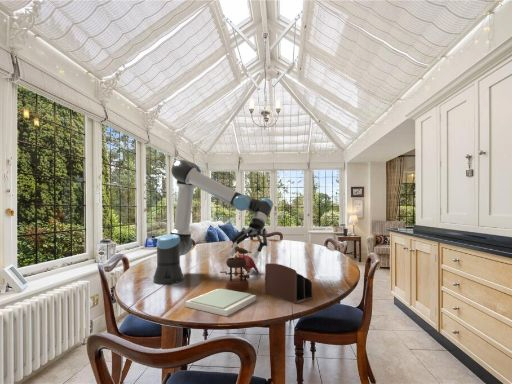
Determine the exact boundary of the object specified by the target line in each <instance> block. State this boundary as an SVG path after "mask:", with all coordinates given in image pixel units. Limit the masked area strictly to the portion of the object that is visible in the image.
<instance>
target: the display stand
mask: <svg viewBox="0 0 512 384" xmlns="http://www.w3.org/2000/svg"><path fill="white" fill-rule="evenodd" d="M256 299H257V295H256V294H251V293H249V292H244V291H242V292H238V291H232V290H227V288H226V289H225V288H216V289H214V290H211V291H209V292H206V293H203V294H201V295H198V296H196V297H193V298H190V299H188V300H186V301H185V302H184V303H185V308H191V309H193V310H199V311H203V312H206V313H210V314H211V313H212V314H216V315H219V316H224V317H228V316H230V315H232V314H234V313H235V312H237V311H238V310H239V311H240V310H241V309H242V308H244V307H246V306H249V305H250V304H252V303H254V302H255V301H257V300H256Z"/></svg>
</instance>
